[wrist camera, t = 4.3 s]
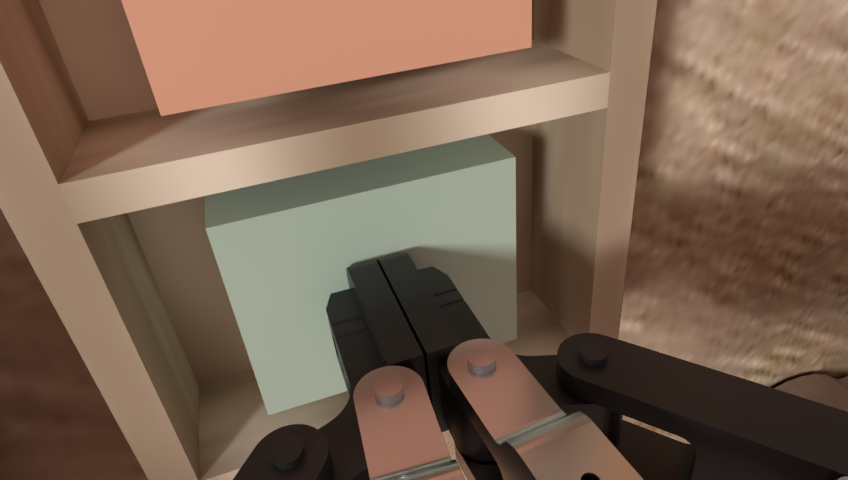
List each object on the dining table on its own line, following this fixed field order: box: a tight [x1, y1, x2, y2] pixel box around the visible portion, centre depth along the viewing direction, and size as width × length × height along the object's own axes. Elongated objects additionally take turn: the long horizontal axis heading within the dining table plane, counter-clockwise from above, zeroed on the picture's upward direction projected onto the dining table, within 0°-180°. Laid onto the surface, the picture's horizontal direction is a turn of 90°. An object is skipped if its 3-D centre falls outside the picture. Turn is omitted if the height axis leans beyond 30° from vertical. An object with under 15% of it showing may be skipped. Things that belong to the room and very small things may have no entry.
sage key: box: [205, 134, 517, 415], centre depth 15 cm, size 7×6×2 cm
